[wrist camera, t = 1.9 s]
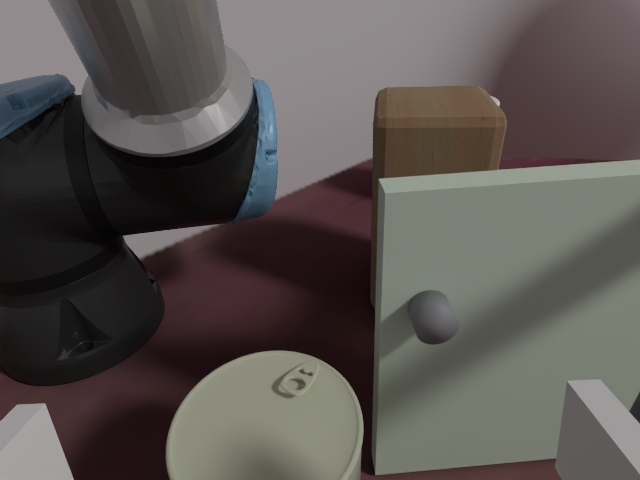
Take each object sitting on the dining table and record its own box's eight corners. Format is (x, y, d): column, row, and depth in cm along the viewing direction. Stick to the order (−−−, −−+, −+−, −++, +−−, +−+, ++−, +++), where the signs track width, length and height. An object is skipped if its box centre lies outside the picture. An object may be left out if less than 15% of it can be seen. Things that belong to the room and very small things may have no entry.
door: (367, 432, 31) (372, 164, 20) (602, 411, 32) (731, 138, 21) (379, 500, 27) (393, 211, 16) (648, 475, 28) (840, 178, 17)
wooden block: (369, 315, 43) (373, 115, 32) (372, 258, 51) (376, 85, 40) (473, 320, 41) (512, 113, 31) (459, 261, 50) (485, 83, 39)
